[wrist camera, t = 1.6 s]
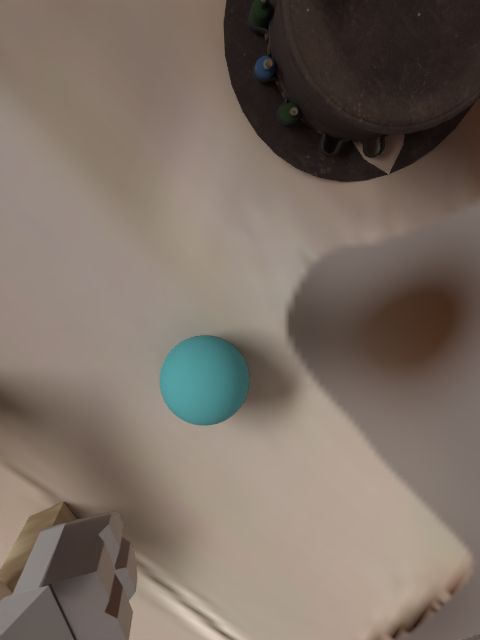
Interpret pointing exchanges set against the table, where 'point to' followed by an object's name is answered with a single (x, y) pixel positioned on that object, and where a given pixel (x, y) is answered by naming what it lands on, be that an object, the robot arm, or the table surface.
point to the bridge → (29, 545)
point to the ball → (204, 380)
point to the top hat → (352, 76)
